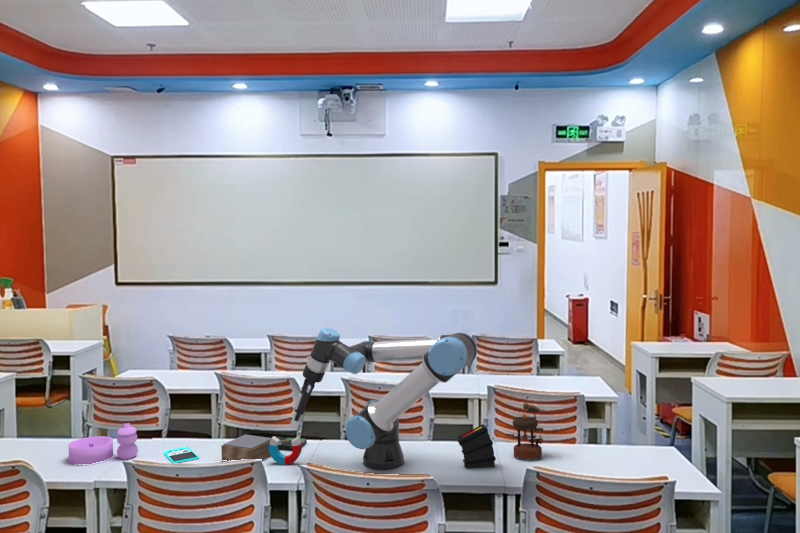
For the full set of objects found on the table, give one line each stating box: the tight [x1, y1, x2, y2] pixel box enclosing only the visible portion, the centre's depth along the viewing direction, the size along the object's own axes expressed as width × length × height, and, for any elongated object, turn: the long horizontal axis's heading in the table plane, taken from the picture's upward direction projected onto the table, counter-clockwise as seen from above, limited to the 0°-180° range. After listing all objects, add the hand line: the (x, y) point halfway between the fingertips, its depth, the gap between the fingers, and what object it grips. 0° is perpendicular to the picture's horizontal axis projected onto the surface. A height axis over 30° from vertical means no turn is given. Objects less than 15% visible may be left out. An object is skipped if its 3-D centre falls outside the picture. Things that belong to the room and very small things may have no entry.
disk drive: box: [275, 436, 308, 452], centre depth 254 cm, size 10×3×15 cm
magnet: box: [269, 435, 303, 466], centre depth 233 cm, size 12×3×10 cm, turn 84°
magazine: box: [457, 423, 497, 469], centre depth 228 cm, size 4×13×15 cm, turn 96°
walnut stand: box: [221, 434, 272, 461], centre depth 241 cm, size 14×14×6 cm
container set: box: [68, 422, 139, 466], centre depth 243 cm, size 25×15×13 cm, turn 93°
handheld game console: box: [163, 446, 200, 464], centre depth 244 cm, size 10×16×1 cm, turn 34°
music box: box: [505, 402, 546, 460], centre depth 238 cm, size 15×11×20 cm
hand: (295, 418), depth 233 cm, fingers open, 13 cm apart
